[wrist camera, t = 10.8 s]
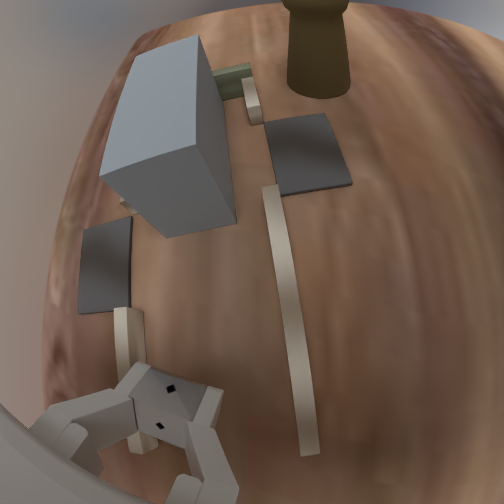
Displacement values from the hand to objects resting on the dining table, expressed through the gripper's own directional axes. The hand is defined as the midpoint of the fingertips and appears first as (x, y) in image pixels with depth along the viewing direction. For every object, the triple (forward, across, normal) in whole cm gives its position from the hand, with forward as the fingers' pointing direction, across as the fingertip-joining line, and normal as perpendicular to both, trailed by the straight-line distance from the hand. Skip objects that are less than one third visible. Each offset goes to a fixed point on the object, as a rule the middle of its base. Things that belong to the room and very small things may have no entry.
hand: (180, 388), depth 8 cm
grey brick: (+15, +6, -6) cm, 17 cm away
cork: (+20, -2, -16) cm, 26 cm away
